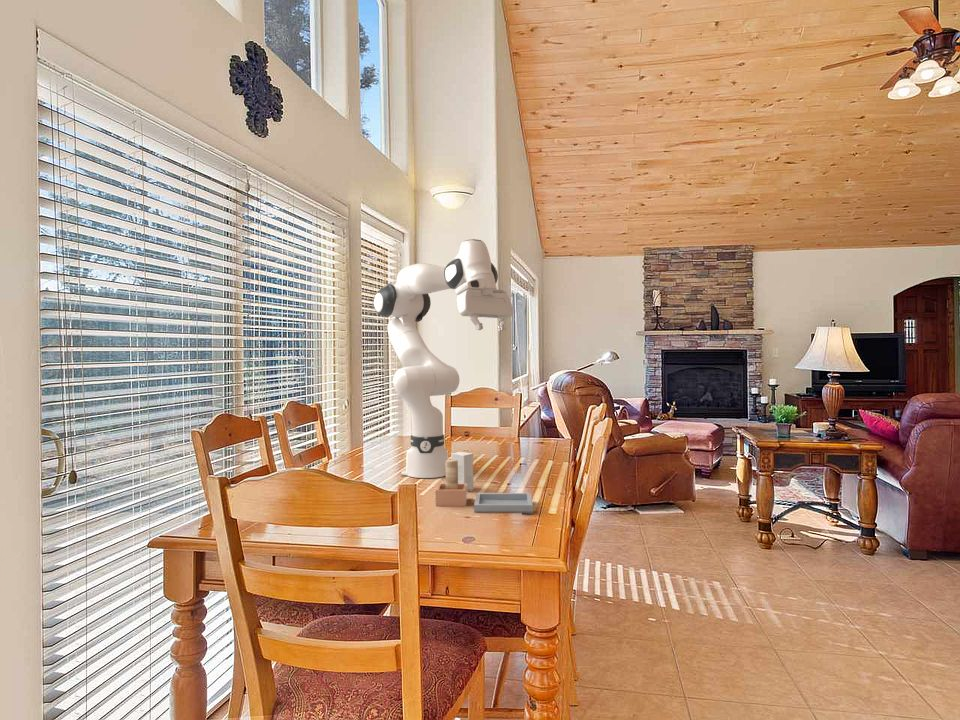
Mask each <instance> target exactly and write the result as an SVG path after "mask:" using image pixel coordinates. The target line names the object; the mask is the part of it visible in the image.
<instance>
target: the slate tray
mask: <svg viewBox="0 0 960 720" xmlns="http://www.w3.org/2000/svg"><path fill="white" fill-rule="evenodd" d="M473 504H474V505H473V507H474V508H473V512H474V513H475V514H476V513H478V514H479V513H481V514H482V513H483V514H484V513H485V514H486V513H489V514H491V513H495V514H499V513H501V514H503V513H504V514H505V513H507V514H508V513H511V514H518V513H519V514H520V513H521V515H533V514H534V505H533V497H532V494H531V492H476V494H475V499H474V503H473Z"/></svg>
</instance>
